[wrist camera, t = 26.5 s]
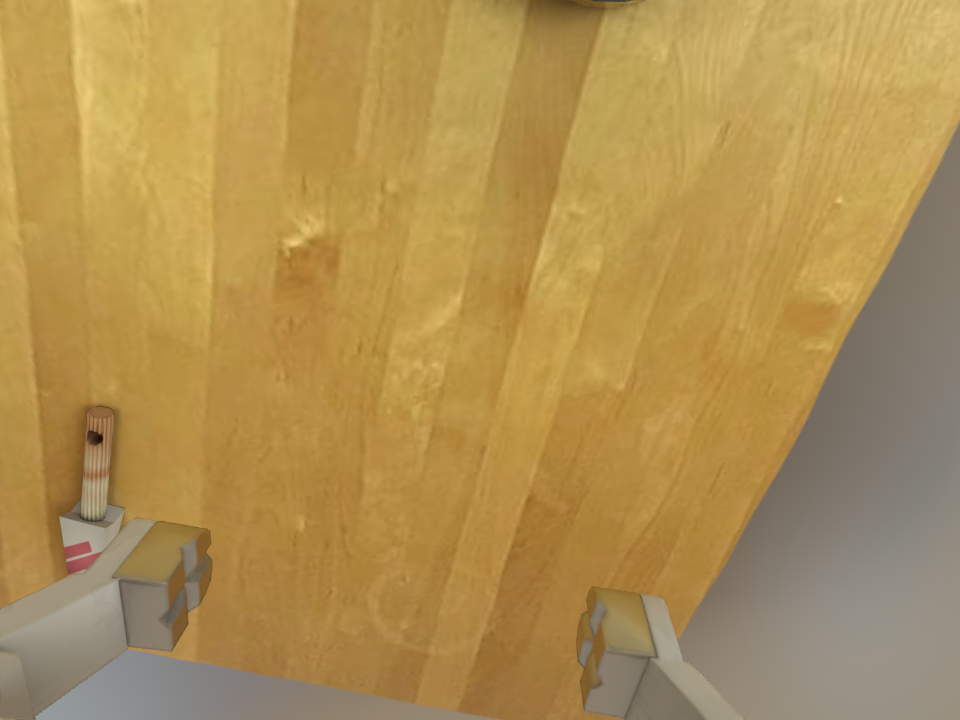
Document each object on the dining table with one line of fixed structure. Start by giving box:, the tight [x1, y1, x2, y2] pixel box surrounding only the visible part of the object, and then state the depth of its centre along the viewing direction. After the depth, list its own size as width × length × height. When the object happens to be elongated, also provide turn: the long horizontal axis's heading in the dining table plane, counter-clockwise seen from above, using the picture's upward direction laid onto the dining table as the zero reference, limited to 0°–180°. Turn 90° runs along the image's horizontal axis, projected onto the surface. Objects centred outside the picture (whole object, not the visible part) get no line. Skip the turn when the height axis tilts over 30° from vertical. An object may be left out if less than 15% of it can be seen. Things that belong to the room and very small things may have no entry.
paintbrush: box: [59, 407, 125, 576], centre depth 51 cm, size 4×3×20 cm
